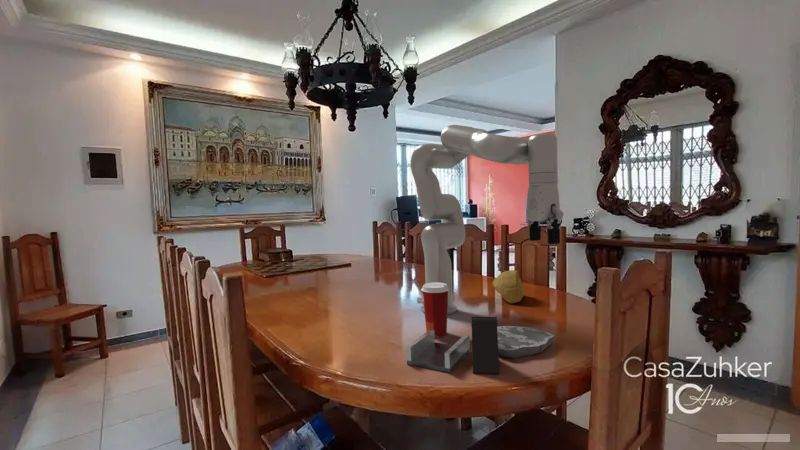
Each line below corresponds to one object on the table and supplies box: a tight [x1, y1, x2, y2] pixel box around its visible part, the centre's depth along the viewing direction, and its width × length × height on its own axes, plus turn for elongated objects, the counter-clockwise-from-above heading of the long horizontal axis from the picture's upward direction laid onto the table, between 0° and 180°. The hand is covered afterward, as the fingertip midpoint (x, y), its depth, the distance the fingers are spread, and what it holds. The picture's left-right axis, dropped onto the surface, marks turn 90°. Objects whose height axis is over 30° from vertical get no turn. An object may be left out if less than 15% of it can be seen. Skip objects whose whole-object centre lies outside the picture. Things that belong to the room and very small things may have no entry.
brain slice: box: [497, 325, 555, 359], centre depth 107 cm, size 20×17×3 cm
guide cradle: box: [406, 329, 471, 374], centre depth 101 cm, size 11×14×4 cm
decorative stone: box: [492, 270, 527, 304], centre depth 155 cm, size 13×15×15 cm
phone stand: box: [471, 316, 500, 375], centre depth 95 cm, size 9×6×12 cm, turn 170°
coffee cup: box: [420, 282, 449, 338], centre depth 119 cm, size 8×8×15 cm
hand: (544, 241), depth 109 cm, fingers open, 9 cm apart
